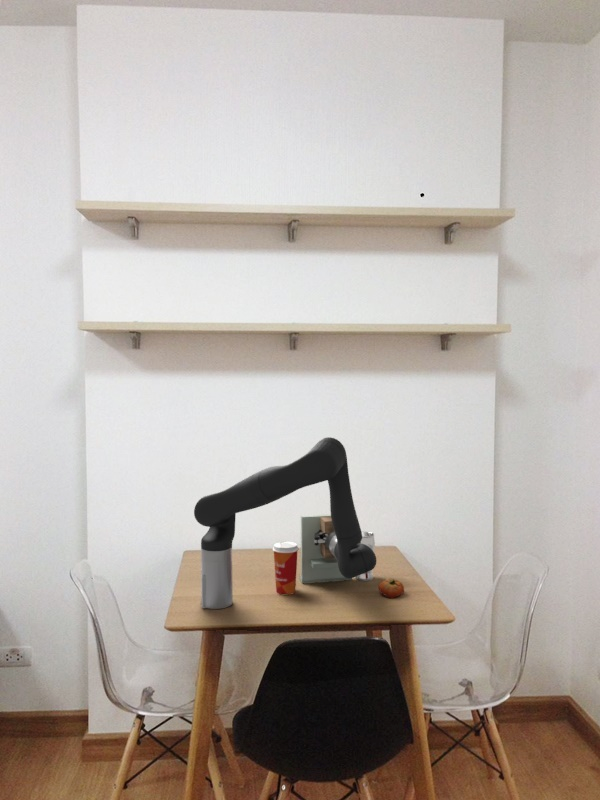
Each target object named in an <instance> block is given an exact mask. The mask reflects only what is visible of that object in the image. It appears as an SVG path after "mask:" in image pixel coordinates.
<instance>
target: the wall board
mask: <svg viewBox="0 0 600 800" xmlns="http://www.w3.org/2000/svg"><path fill="white" fill-rule="evenodd" d="M320 517H331V513H328V514H311V515H309V514H308V515H300V575H299V576H298V577H299V578H298V579H299V581H300V582H301V584H302V583H304V584H312V583H313V584H315V583H314V582H318V583H328V582H329V581H332V582H342V581H344V580H346V581H352V580H353V578H350V579H348V578H345V577H344V576H343V575H342V574H341V573H340V571H339V567H338V559H336V558H332V559H325V558H324V557H323V556H322V555H321V543H320V544H318V545H317V546H316V545H314V535H315V533H318V531H319V530H321V522H320Z"/></svg>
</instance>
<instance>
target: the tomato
mask: <svg viewBox="0 0 600 800" xmlns="http://www.w3.org/2000/svg"><path fill="white" fill-rule="evenodd" d="M378 590H379V592H380V593H381V594H382V595H383V596H386V597H387V598H388V599H394V598H396V597H398V596H401V595H403V594H404V593H405V587H404V586H403V584H402V582H401V581H399V580H398V579H394V578H393V579H392V578H391V579H389V578H388V579H384V580H383V581H381V582H380V583H379V585H378Z"/></svg>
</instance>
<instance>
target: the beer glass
mask: <svg viewBox="0 0 600 800" xmlns="http://www.w3.org/2000/svg"><path fill="white" fill-rule="evenodd" d="M361 532H362V540H361V541H360V542H359V543H361V544H365V545H367V546H368V547H370V548H371V549H372V550H373V552H374V553H375V551H376V549H375V547H376V545H375V544H376V542H375V534H374V533H373V532H369V531H361ZM354 578H355V580H356V581H361V582H370V581H373V579H374V574H373V569H372V570H371V571H369V572H366V573H364V574H361V575H358V576H356V577H354Z"/></svg>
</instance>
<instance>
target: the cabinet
mask: <svg viewBox="0 0 600 800" xmlns="http://www.w3.org/2000/svg"><path fill="white" fill-rule="evenodd" d="M320 522H321V530H322V531H323V532H324V533H325V532H328V533H332V532H334V528H333V524H332V519H331V517H320ZM321 555H322V556H323V557H324V558H325V559H332V558H335V557H334V556H333V555H332V554H331V552H330V551H329V550H328V549H327V546H326V545H324V544H323V543H321Z"/></svg>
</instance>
